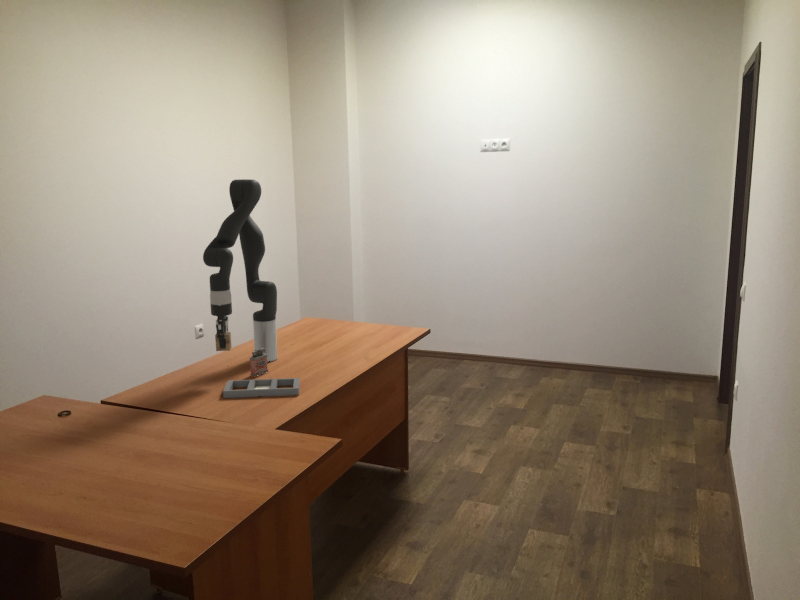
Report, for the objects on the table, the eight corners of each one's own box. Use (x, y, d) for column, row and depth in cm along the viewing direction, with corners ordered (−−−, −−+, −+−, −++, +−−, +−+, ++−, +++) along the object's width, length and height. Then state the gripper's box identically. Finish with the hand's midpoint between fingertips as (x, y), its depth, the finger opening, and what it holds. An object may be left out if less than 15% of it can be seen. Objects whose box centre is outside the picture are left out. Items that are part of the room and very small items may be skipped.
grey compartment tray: (228, 387, 235) (227, 380, 234) (299, 384, 238) (299, 377, 237) (223, 398, 223) (223, 391, 223) (298, 395, 226) (298, 388, 226)
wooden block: (217, 348, 241) (216, 332, 239) (231, 347, 241) (230, 332, 240) (216, 351, 237) (215, 335, 236) (230, 350, 237) (229, 334, 236)
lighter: (254, 377, 245) (253, 352, 243) (248, 375, 247) (247, 350, 245) (270, 372, 252) (269, 347, 250) (264, 370, 254) (263, 346, 252)
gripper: (213, 298, 242) (216, 341, 245) (207, 306, 228) (210, 352, 231) (233, 297, 243) (236, 341, 246) (228, 305, 229) (231, 351, 232)
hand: (223, 346), depth 239 cm, fingers closed on wooden block, 4 cm apart
